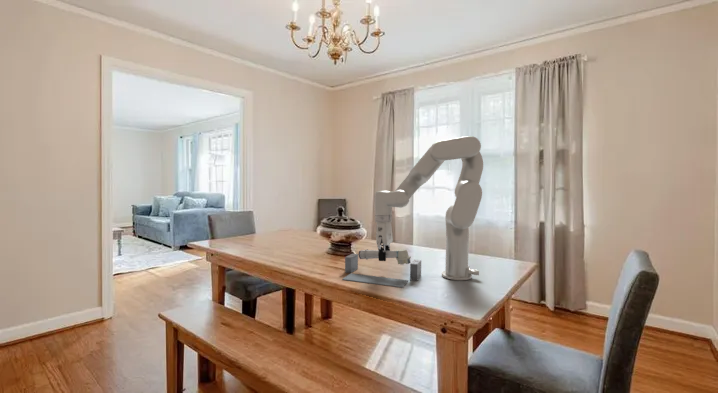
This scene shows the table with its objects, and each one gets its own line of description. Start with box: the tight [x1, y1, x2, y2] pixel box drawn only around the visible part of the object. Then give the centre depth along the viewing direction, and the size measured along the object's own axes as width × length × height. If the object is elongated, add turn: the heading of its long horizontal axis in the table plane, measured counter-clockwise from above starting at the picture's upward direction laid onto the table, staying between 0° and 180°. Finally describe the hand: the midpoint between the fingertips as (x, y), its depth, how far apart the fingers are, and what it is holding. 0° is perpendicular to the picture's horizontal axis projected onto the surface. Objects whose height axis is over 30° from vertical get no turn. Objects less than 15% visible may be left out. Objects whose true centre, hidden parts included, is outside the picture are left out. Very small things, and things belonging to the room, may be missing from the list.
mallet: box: [357, 249, 412, 265], centre depth 151 cm, size 5×7×25 cm
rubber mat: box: [341, 272, 409, 288], centre depth 142 cm, size 26×9×1 cm, turn 68°
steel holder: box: [344, 253, 422, 282], centre depth 151 cm, size 33×8×7 cm, turn 68°
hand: (384, 258), depth 151 cm, fingers closed on mallet, 5 cm apart
